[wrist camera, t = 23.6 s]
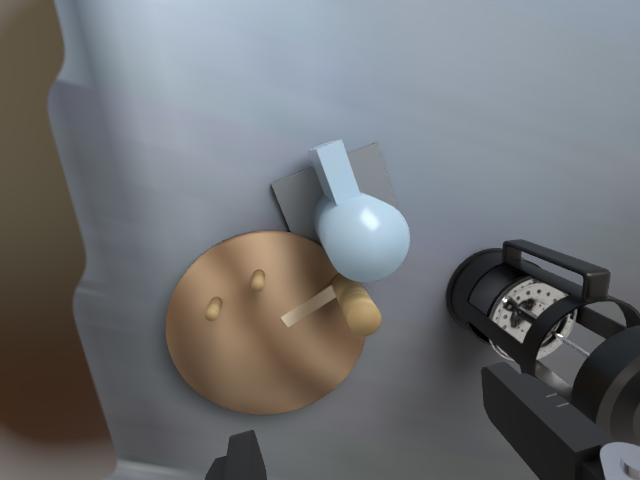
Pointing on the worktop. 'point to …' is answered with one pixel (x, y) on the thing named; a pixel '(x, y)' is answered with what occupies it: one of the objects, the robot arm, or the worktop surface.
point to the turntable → (267, 323)
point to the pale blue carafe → (355, 220)
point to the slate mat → (306, 189)
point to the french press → (557, 330)
